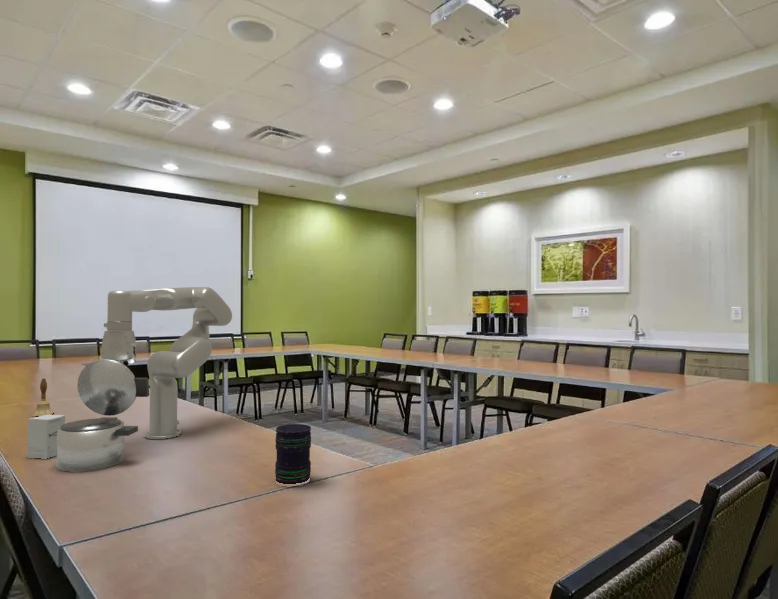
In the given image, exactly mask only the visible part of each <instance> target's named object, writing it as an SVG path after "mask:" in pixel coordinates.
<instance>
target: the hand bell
mask: <svg viewBox="0 0 778 599" xmlns="http://www.w3.org/2000/svg"><path fill="white" fill-rule="evenodd" d="M47 388H48V382H47V380H46V378H41V380H40V385H39V389H40V392H41V395H40V401H39V402H37V405H36V409H35V412H34V413H33V414H32V415H33V416H43V415H50V414H53V413H55V412H54V411H53V410H52V409H51V406H50V402H49V401H47V400H46V397H47V396H46V393H47V390H48V389H47ZM53 415H54V414H53ZM33 416H32V417H33Z"/></svg>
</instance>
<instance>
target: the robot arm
mask: <svg viewBox="0 0 778 599" xmlns="http://www.w3.org/2000/svg"><path fill="white" fill-rule="evenodd" d="M187 309H195V310H194V312H193V314H192V327H191V328H190V330H188V331H187V332H185V333H184V335H182V336H180V337H178V339H176V340H175V341H174V342H173V343H172V344H171V346H170V349H169V350H159V351H156V352H154V353H151V355H150V356H149V357H148V360H147V365H146V366H147V373H148V376H149V377H148V380H149V426H148V427H149V428H148V430H149V431H146V432H145V433H144V438H145V437H146V439H150V440H165V439H166V438H168V439H172V437H173V438H176V436H177V437H178V436H181V435H182V430H181V429H179V428H178V425H180V420H178V392H179V391H178V390H179V389H178V383H177V380H176V378H177V379H182V378H186V377H189V376H190V375H192V374H193V373H194V372H195V371H197V369H199V368H200V367H201V366H203V365H204V364H205V363H206V362H207V361H208V360H209V358H210V357H211V355H212V351H213V346H212V343H211V342H210V336H211V335H210V326H211V327H212V326H214V327H215V326H217V327H224V326H228V325H229V324H230V323H231V321H232V320H233V319H232V318H233V312H232V310H231V307H229V305H228V304H227V303H226V301H225V300H224V299H223V298H222V297H221V295H219V293H218V292H217V291H216V290H214V289H212V288H211V287H209V286H204V287H203V286H202V287H201V286H195V287H194V286H190V287H189V286H188V287H187V286H186V287H185V286H184V287H169V288H168V287H165V288H155V289H141V290H140V289H139V290H138V289H137V290H111V291H109V292H108V294H107V316H106V317H107V319H106V320H107V321H106V323H104V324H103V328H105V329H106V330H104V332H103V335H102V342H101V348H100V349H101V350H100V358H101V359H112V360H116V361H119V362H121V363H122V364H124V365H125V366H127V367H128V366H129V365H131V364H135V363H136V361H137V360H136V357H137V341H136V335H135V331H134V330H133V313H135V312H136V313H146V312H150V311H179V310H187ZM180 434H181V435H180ZM166 440H167V439H166Z"/></svg>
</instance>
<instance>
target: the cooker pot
mask: <svg viewBox="0 0 778 599" xmlns="http://www.w3.org/2000/svg"><path fill="white" fill-rule="evenodd" d="M137 432H139V426H138V425H125V421H123V420H121V419H118V417H111V416H107V417H106V416H105V417H104V416H103V417H99V418H87V419H82V420H81V419H80V420H73V421H71V422H65V424H63V425H61V426H60V427H58V428H57V456H56V463H55V464H56V466H55V467H57V468H56V470H58V469H59V470H58V471H60V470H62V471H61V472H64V471H69V472H68V473H81V472H80V471H86V472H91V471H90V470H94V471H98V470H97V469H100V470H103V469H102V468H105V469H108V468H111V467H110V466H112V467H114V466H113V465H115V466H117V465H119V464H121V463H122V462H124V459H123V458H124V454H125V453H124V452H125V451H124V450H125V449H124V448H125V447H124V444H125V443H124V442H125V441H124V439H125V438H124V437H128V436H130V435H133V434H135V433H137ZM121 461H122V462H121ZM120 462H121V463H120ZM118 463H119V464H118ZM116 464H117V465H116ZM107 467H108V468H107Z"/></svg>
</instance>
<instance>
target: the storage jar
mask: <svg viewBox="0 0 778 599" xmlns="http://www.w3.org/2000/svg"><path fill="white" fill-rule="evenodd" d="M311 430H312V427H311V426H310V425H309V424H303V423H302V424H301V423H288V424H282V425H278V426H277V427H276V428H275V432H276V433H275V445H274V446H275V450H276V461H275V469H274V474H275V480H276V481H277V482H279V483H283V484H296V483H302V482H305V481H307V480H308V479H309V478H310V479H311V472H312V471H311V470H312V468H311V465H312V462H311V460H310V458H311V457H310V456H311V455H310V454H311V452H310V451H311V448H312V447H311V446H312V435H311V434H312V433H311Z"/></svg>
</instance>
